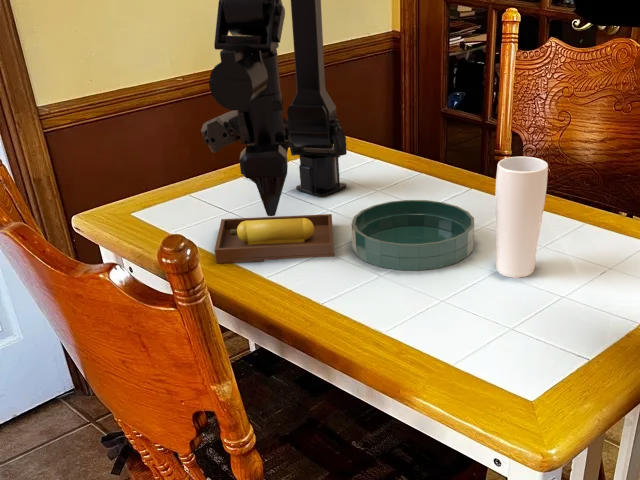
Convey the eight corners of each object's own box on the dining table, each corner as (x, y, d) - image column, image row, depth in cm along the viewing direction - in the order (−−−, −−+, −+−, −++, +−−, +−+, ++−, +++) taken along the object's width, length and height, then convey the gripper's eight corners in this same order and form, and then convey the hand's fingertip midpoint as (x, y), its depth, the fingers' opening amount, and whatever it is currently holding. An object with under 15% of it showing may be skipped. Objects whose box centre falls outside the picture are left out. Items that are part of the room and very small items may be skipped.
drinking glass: (543, 265, 121) (553, 158, 112) (533, 284, 116) (543, 174, 106) (497, 259, 123) (503, 154, 113) (485, 278, 117) (491, 169, 108)
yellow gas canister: (315, 234, 129) (313, 214, 127) (315, 242, 127) (313, 222, 125) (233, 238, 129) (230, 218, 127) (231, 246, 126) (228, 225, 124)
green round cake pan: (405, 216, 137) (405, 191, 134) (496, 243, 127) (498, 217, 125) (328, 251, 126) (326, 225, 123) (422, 283, 117) (422, 255, 114)
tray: (332, 226, 133) (331, 213, 132) (334, 257, 124) (333, 244, 123) (223, 232, 132) (221, 218, 131) (216, 263, 123) (214, 249, 121)
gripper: (206, 77, 122) (222, 185, 131) (192, 111, 107) (211, 230, 116) (284, 74, 122) (294, 182, 132) (280, 108, 107) (292, 227, 117)
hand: (272, 204), depth 124 cm, fingers open, 9 cm apart
